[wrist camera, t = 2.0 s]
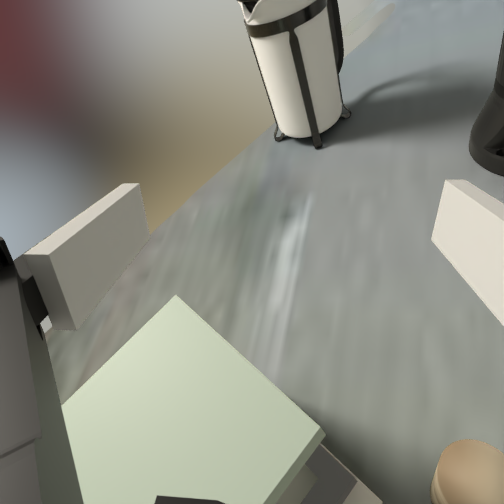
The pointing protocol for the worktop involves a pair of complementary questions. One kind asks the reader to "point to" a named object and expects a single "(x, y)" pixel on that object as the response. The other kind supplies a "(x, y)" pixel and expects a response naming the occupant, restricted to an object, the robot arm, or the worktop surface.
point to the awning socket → (197, 426)
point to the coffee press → (298, 62)
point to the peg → (469, 474)
